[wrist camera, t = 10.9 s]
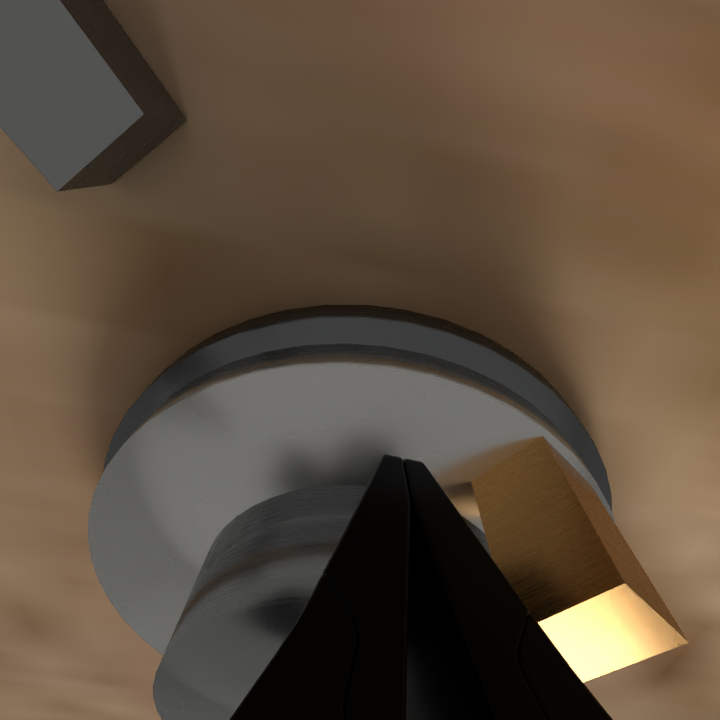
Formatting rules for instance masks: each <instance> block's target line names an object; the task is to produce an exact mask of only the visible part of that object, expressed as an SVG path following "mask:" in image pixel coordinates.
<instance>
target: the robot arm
mask: <svg viewBox="0 0 720 720" xmlns="http://www.w3.org/2000/svg"><path fill="white" fill-rule="evenodd" d="M528 613H529V610H528V608H527V607H526V605H525V604H524V602H523V601H522V600H521V598H520V597H519V596H518V594H517V593H516V591H515V590H514V589H513V587H512V586H511V584H510V583H509V582H508V580H507V579H506V577H505V576H504V575H503V573H502V572H501V570H500V569H499V568H498V566H497V565H496V563H495V562H494V561H493V559H492V558H491V556H490V555H489V554H488V552H487V551H486V549H485V548H484V547H483V545H482V544H481V542H480V541H479V540H478V538H477V537H476V535H475V534H474V533H473V531H472V530H471V528H470V527H469V526H468V524H467V523H466V521H465V520H464V519H463V517H462V516H461V514H460V513H459V512H458V510H457V509H456V507H455V506H454V505H453V503H452V502H451V500H450V499H449V498H448V496H447V495H446V493H445V492H444V491H443V489H442V488H441V486H440V485H439V484H438V482H437V481H436V479H435V478H434V477H433V475H432V474H431V472H430V471H429V470H428V468H427V467H426V465H425V464H424V463H423V462H421V461H416V460H412V459H404V460H403V459H402V458H401V457H397V456H393V455H388V454H384V455H383V456H382V457H381V459H380V461H379V463H378V465H377V467H376V469H375V471H374V473H373V475H372V477H371V479H370V481H369V483H368V485H367V487H366V489H365V491H364V493H363V495H362V497H361V499H360V501H359V503H358V504H357V506H356V508H355V510H354V512H353V514H352V516H351V518H350V520H349V522H348V524H347V526H346V528H345V530H344V532H343V534H342V536H341V538H340V540H339V542H338V544H337V546H336V548H335V550H334V552H333V554H332V556H331V557H330V559H329V561H328V563H327V565H326V567H325V569H324V571H323V574H322V575H321V577H320V578H319V580H318V582H317V584H316V586H315V588H314V590H313V592H312V594H311V596H310V598H309V600H308V601H307V603H306V605H305V607H304V609H303V610H302V612H301V614H300V616H299V618H298V619H297V621H296V623H295V624H294V626H293V627H292V629H291V630H290V632H289V634H288V635H287V637H286V638H285V640H284V641H283V643H282V644H281V646H280V647H279V649H278V650H277V652H276V653H275V655H274V656H273V658H272V659H271V661H270V662H269V663H268V665H267V666H266V668H265V669H264V671H263V672H262V673H261V675H260V676H259V678H258V679H257V681H256V682H255V683H254V685H253V686H252V688H251V689H250V691H249V692H248V693H247V695H246V696H245V698H244V699H243V701H242V702H241V703H240V705H239V706H238V708H237V709H236V711H235V712H234V713H233V715H232V716H231V718H230V719H229V720H613V719H612V718H611V717H610V716H609V714H608V713H607V712H606V711H605V710H604V708H603V707H602V706H601V705H600V703H599V702H598V701H597V699H596V698H595V697H594V696H593V694H592V693H591V692H590V691H589V689H588V688H587V687H586V686H585V684H584V683H583V682H582V681H581V679H580V678H579V677H578V676H577V674H576V673H575V672H574V671H573V669H572V668H571V667H570V665H569V664H568V663H567V661H566V660H565V659H564V657H563V656H562V655H561V653H560V652H559V651H558V649H557V648H556V647H555V645H554V644H553V643H552V641H551V640H550V638H549V637H548V636H547V634H546V633H545V632H544V630H543V629H542V627H541V626H540V625H539V623H538V622H537V620H536V619H535V618H534V616H533V615H532V614H528Z"/></svg>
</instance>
